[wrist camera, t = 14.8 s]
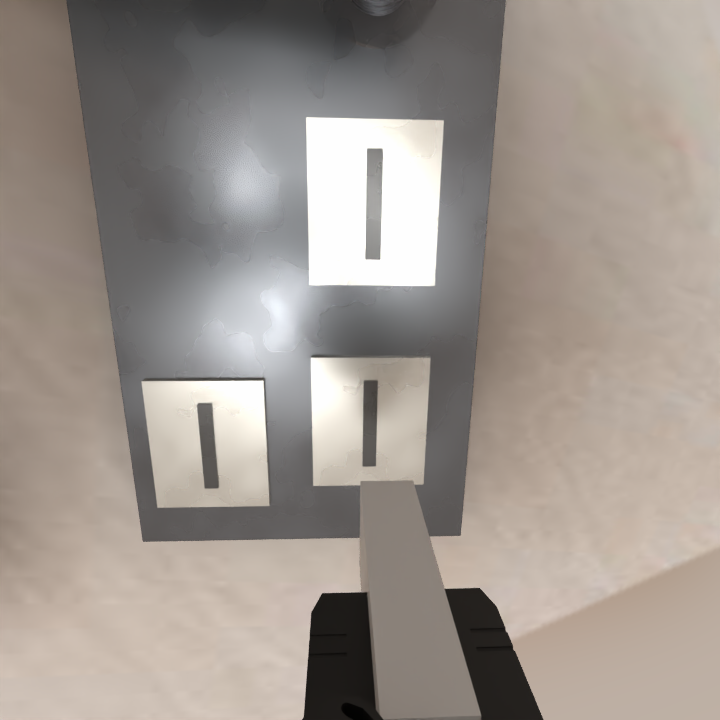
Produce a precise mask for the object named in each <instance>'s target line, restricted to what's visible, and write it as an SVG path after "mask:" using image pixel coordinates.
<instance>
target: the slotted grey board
mask: <svg viewBox="0 0 720 720" xmlns="http://www.w3.org/2000/svg"><path fill="white" fill-rule="evenodd" d="M66 1H67V8H68V15H69V22H70V29H71V36H72V43H73V50H74V57H75V64H76V71H77V78H78V86H79V93H80V100H81V107H82V114H83V121H84V128H85V135H86V142H87V149H88V156H89V163H90V170H91V178H92V185H93V192H94V199H95V206H96V213H97V220H98V227H99V234H100V241H101V248H102V255H103V262H104V270H105V277H106V284H107V291H108V298H109V305H110V312H111V319H112V326H113V333H114V340H115V347H116V354H117V362H118V369H119V376H120V383H121V390H122V397H123V404H124V411H125V418H126V425H127V432H128V439H129V446H130V454H131V461H132V468H133V475H134V482H135V489H136V496H137V503H138V510H139V517H140V524H141V531H142V538H143V542H150V541H203V540H257V539H310V538H360V481H404V480H413V482H414V486H415V489H416V493H417V496H418V500H419V503H420V506H421V510H422V513H423V517H424V520H425V524H426V527H427V530H428V534H429V536H461V524H462V512H463V500H464V488H465V476H466V465H467V453H468V441H469V429H470V417H471V405H472V393H473V381H474V369H475V358H476V346H477V334H478V322H479V310H480V298H481V286H482V274H483V262H484V251H485V239H486V227H487V215H488V203H489V191H490V179H491V167H492V155H493V143H494V132H495V120H496V108H497V96H498V84H499V72H500V60H501V48H502V36H503V25H504V13H505V1H506V0H435V1H434V0H431V1H430V0H417V1H416V0H407V1H404V2H403V3H402V5H401V6H400V7H399V9H396V10H395V11H393V12H392V13H390V14H387V15H386V16H385V15H383V16H372V15H368V14H366V13H364V12H362V11H360V12H359V9H358V8H357V7H355V6H353V5H354V4H353V3H352V2H351V1H350V0H342V1H341V0H338V1H337V0H336V1H335V0H325V1H324V0H323V1H321V0H66ZM318 1H319V2H318ZM320 1H321V2H320ZM348 1H349V2H348ZM415 1H416V3H415ZM420 1H421V2H420ZM426 1H427V2H426ZM329 2H330V3H329ZM339 2H340V3H339ZM408 2H409V3H408ZM428 2H429V3H428ZM432 2H435V3H434V4H433V3H432ZM404 3H405V4H406V5H404ZM407 3H408V4H407ZM421 3H422V4H421ZM326 4H327V5H326ZM332 4H334V5H332ZM335 4H336V5H335ZM342 4H343V5H342ZM350 4H351V6H350ZM409 4H412V6H411V5H409ZM418 4H420V5H418ZM425 4H426V5H425ZM427 4H428V5H427ZM421 5H422V8H421ZM429 5H431V7H430V6H429ZM320 6H321V7H320ZM339 6H340V7H339ZM403 6H404V7H403ZM405 6H406V7H405ZM413 6H414V8H413ZM415 6H417V7H415ZM423 6H424V7H423ZM426 6H427V7H428V8H427V7H426ZM433 6H434V7H433ZM325 7H326V8H325ZM407 7H408V8H407ZM425 7H426V8H425ZM432 7H433V8H432ZM327 8H328V9H327ZM347 8H348V9H347ZM401 8H402V9H401ZM406 8H407V9H406ZM430 8H431V9H430ZM352 9H353V10H352ZM356 9H357V11H356ZM425 9H427V10H425ZM429 9H430V10H429ZM322 10H323V11H325V12H323V11H322ZM334 10H335V11H334ZM354 10H355V11H354ZM401 10H402V11H404V12H402V11H401ZM416 10H417V11H416ZM420 10H421V11H420ZM423 10H425V11H424V12H423ZM340 11H341V12H340ZM343 11H344V12H343ZM350 11H352V12H353V13H352V12H350ZM419 11H420V12H419ZM428 11H430V12H428ZM342 12H343V13H344V14H343V13H342ZM411 12H412V13H411ZM418 12H419V13H418ZM323 13H324V14H323ZM345 13H346V14H345ZM396 13H400V14H396ZM426 13H427V14H426ZM327 14H328V15H327ZM348 14H349V15H348ZM359 14H360V15H359ZM411 14H412V15H411ZM418 14H419V15H418ZM397 15H398V16H397ZM400 15H402V16H400ZM403 15H404V16H403ZM414 15H415V16H414ZM343 16H344V17H343ZM346 16H347V17H346ZM352 16H353V17H352ZM418 16H419V17H418ZM326 17H327V18H328V19H326ZM334 17H335V18H334ZM368 17H369V18H368ZM382 17H383V18H382ZM388 17H389V18H388ZM396 17H397V18H396ZM401 17H402V18H401ZM411 17H412V18H411ZM347 18H348V19H347ZM350 18H351V19H352V20H351V19H350ZM400 18H401V19H400ZM406 18H407V19H406ZM410 18H411V19H410ZM413 18H414V19H413ZM415 18H418V19H415ZM358 19H359V20H358ZM371 19H373V20H371ZM381 19H382V20H381ZM387 19H388V20H389V21H388V20H387ZM392 19H393V20H392ZM394 19H396V20H394ZM402 19H403V20H402ZM404 19H405V20H404ZM408 19H409V20H408ZM344 20H345V21H344ZM376 20H377V21H376ZM386 20H387V21H386ZM390 20H391V21H390ZM407 20H408V21H407ZM410 20H411V21H410ZM420 20H422V21H423V22H422V21H420ZM336 21H337V22H336ZM392 21H393V22H392ZM397 21H398V22H397ZM405 21H406V22H405ZM417 21H418V22H417ZM347 22H348V23H347ZM355 22H356V23H357V24H356V23H355ZM371 22H372V23H371ZM380 22H382V23H383V22H384V23H383V24H382V23H380ZM387 22H388V23H387ZM399 22H401V23H400V24H399ZM403 22H404V23H406V24H402V23H403ZM407 22H408V23H410V24H411V23H413V24H411V26H412V25H413V26H412V27H413V29H412V27H411V26H410V24H409V25H408V23H407ZM421 22H422V23H421ZM385 23H387V24H386V25H385ZM391 23H392V24H391ZM395 23H396V24H395ZM416 23H417V24H416ZM361 24H362V25H361ZM363 24H364V26H365V27H364V26H363ZM365 24H366V25H365ZM375 24H376V25H375ZM393 24H394V25H395V27H394V26H393ZM419 24H420V25H421V26H423V27H421V26H420V25H419ZM371 25H372V26H371ZM381 25H382V26H381ZM383 25H384V26H383ZM390 25H391V26H390ZM397 25H398V26H397ZM402 25H403V26H402ZM404 25H405V26H406V29H407V30H406V29H405V26H404ZM338 26H339V27H338ZM342 26H344V27H342ZM354 26H355V27H354ZM362 26H363V27H364V28H363V27H362ZM369 26H370V27H369ZM399 26H400V27H399ZM415 26H416V27H415ZM386 27H387V28H386ZM391 27H392V28H391ZM401 27H402V28H401ZM414 27H415V28H414ZM419 27H420V28H419ZM348 28H350V29H348ZM359 28H360V29H359ZM362 28H363V29H362ZM370 28H373V29H374V30H373V29H370ZM417 28H418V29H417ZM338 29H339V31H338ZM365 29H366V30H365ZM367 29H368V30H369V31H368V30H367ZM380 29H381V30H380ZM397 29H399V30H400V29H402V30H400V31H399V30H397ZM414 29H415V30H414ZM346 30H348V31H346ZM357 30H359V31H357ZM360 30H361V31H360ZM370 30H371V31H370ZM372 30H373V31H372ZM376 30H377V31H376ZM365 31H366V32H365ZM375 31H376V33H375ZM383 31H384V32H385V33H384V32H383ZM387 31H388V32H387ZM390 31H391V32H390ZM394 31H396V32H394ZM401 31H406V32H401ZM414 31H415V32H414ZM340 32H341V33H340ZM345 32H346V33H345ZM398 32H399V33H398ZM400 32H401V33H402V35H403V36H402V35H401V33H400ZM410 32H411V33H410ZM369 33H370V34H369ZM378 33H379V34H378ZM382 33H384V34H382ZM386 33H387V34H386ZM389 33H390V34H389ZM392 33H393V34H392ZM404 33H405V34H404ZM408 33H409V34H408ZM340 34H341V35H340ZM346 34H347V35H348V36H347V35H346ZM354 34H355V35H356V36H357V37H356V36H355V35H354ZM358 34H359V35H358ZM360 34H361V35H360ZM366 34H367V35H366ZM368 34H369V35H368ZM372 34H373V35H372ZM375 34H376V35H375ZM394 34H395V35H394ZM412 34H413V35H412ZM353 35H354V36H355V37H353ZM363 35H364V36H363ZM374 35H375V37H374ZM379 35H380V36H379ZM384 35H385V36H384ZM386 35H387V36H386ZM390 35H391V36H392V37H391V36H390ZM365 36H366V37H365ZM368 36H370V37H368ZM397 36H398V37H401V38H397ZM350 37H351V38H352V39H353V40H352V39H351V38H350ZM360 37H361V38H360ZM385 37H386V38H385ZM387 37H388V38H387ZM407 37H408V38H407ZM409 37H410V38H409ZM348 38H349V39H350V40H351V41H352V42H350V40H349V39H348ZM358 38H360V39H358ZM365 38H366V39H365ZM367 38H368V39H367ZM369 38H371V39H369ZM373 38H376V39H374V41H372V40H373ZM378 38H380V39H381V40H382V41H381V42H382V43H380V39H379V41H378ZM391 38H392V40H391ZM393 38H394V39H395V40H394V39H393ZM347 39H348V40H347ZM361 39H362V40H363V39H365V40H364V41H365V42H364V41H363V42H361V41H362V40H361ZM398 39H399V40H398ZM401 39H404V40H401ZM357 40H358V41H357ZM366 40H367V42H366ZM375 40H376V41H375ZM353 41H357V42H356V44H357V43H358V42H359V43H360V42H361V43H362V45H363V46H364V47H362V46H359V44H358V45H356V44H355V42H354V43H353ZM370 41H372V44H371V42H370ZM388 41H389V44H388ZM394 41H395V42H394ZM397 41H399V42H400V43H398V42H397ZM369 42H370V43H369ZM373 42H374V43H373ZM378 42H379V43H378ZM396 42H397V43H396ZM361 43H360V45H361ZM363 43H366V44H365V45H367V44H369V46H370V45H371V46H370V47H372V46H375V47H374V48H376V46H377V47H378V48H380V49H374V48H373V47H372V48H373V49H372V48H367V47H366V46H365V45H364V44H363ZM383 43H384V44H385V45H384V44H383ZM392 43H393V44H392ZM394 43H395V44H394ZM374 44H375V45H374ZM377 44H378V45H380V46H378V45H377ZM390 44H391V45H390ZM396 44H398V45H396ZM381 45H382V46H381ZM387 45H388V46H387ZM367 46H368V45H367ZM384 46H386V48H385V47H384ZM381 48H382V49H381Z"/></svg>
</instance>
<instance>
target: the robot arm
mask: <svg viewBox="0 0 720 720" xmlns="http://www.w3.org/2000/svg"><path fill="white" fill-rule="evenodd" d="M359 562H360V578H361V592H360V593H322V595H321V597H320V598H319V600H318V602H317V604H316V606H315V607H314V609H313V611H312V613H311V627H310V641H309V657H308V668H307V682H306V696H305V710H304V718H303V719H302V720H543V718H542V715H541V713H540V710H539V708H538V706H537V703H536V701H535V698H534V696H533V693H532V692H531V689H530V686H529V684H528V682H527V679H526V677H525V674H524V672H523V669H522V667H521V665H520V662H519V660H518V657H517V655H516V653H515V651H514V650H513V645H512V643H511V640H510V638H509V636H508V633H507V632H506V631H505V626H504V624H503V621H502V619H501V616H500V614H499V611H498V609H497V607H496V605H495V604H494V603H493V602H492V601H491V600H490V599H489V598H488V597H487V596H486V594H485V593H484V592H483V591H482V590H481V589H480V588H463V589H444V585H443V582H442V579H441V575H440V572H439V568H438V565H437V561H436V558H435V555H434V551H433V548H432V544H431V541H430V537H429V534H428V530H427V527H426V524H425V520H424V517H423V513H422V510H421V506H420V503H419V500H418V496H417V493H416V489H415V486H414V482H413V480H404V481H360V561H359Z"/></svg>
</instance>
